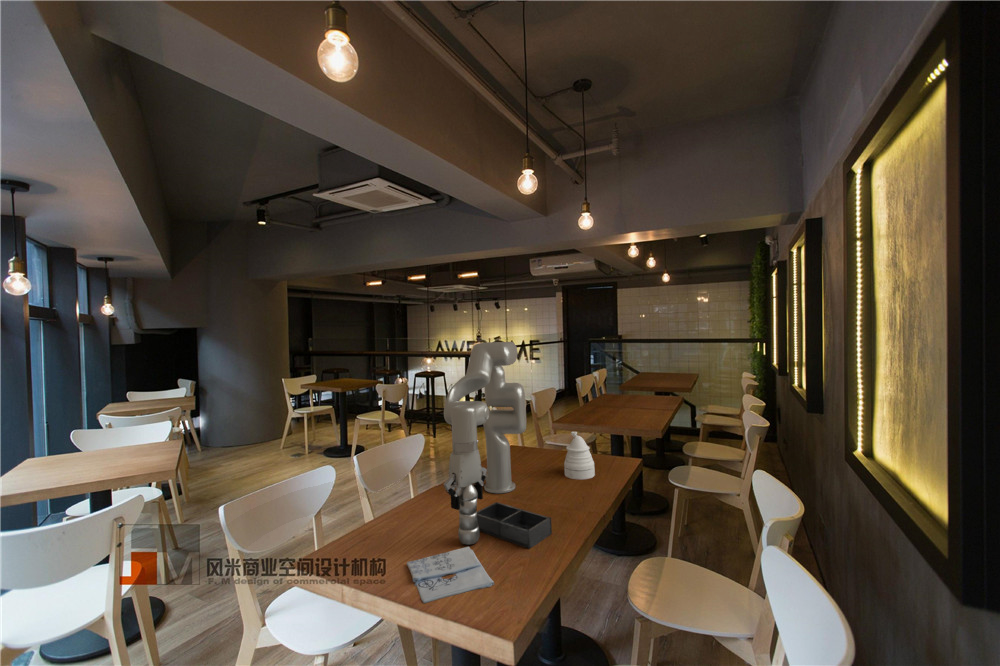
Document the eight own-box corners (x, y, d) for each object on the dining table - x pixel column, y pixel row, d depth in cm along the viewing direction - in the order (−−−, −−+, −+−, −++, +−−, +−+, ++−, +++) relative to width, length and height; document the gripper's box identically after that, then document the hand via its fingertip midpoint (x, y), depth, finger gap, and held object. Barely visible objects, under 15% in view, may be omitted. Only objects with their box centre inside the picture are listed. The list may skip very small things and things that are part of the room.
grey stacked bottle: (483, 538, 135) (480, 473, 135) (474, 549, 129) (471, 480, 129) (464, 536, 137) (461, 472, 137) (454, 546, 131) (451, 479, 131)
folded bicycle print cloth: (472, 551, 128) (471, 544, 128) (495, 588, 109) (495, 580, 109) (406, 566, 122) (405, 559, 122) (418, 608, 103) (418, 599, 103)
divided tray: (473, 529, 142) (472, 513, 142) (497, 516, 151) (496, 501, 151) (529, 549, 127) (528, 531, 127) (551, 533, 136) (551, 517, 136)
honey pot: (558, 475, 190) (556, 434, 190) (575, 467, 199) (573, 428, 199) (584, 481, 181) (582, 437, 181) (600, 473, 191) (598, 431, 191)
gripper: (475, 439, 142) (478, 492, 142) (434, 451, 129) (437, 510, 129) (493, 442, 137) (495, 497, 137) (452, 455, 124) (455, 516, 124)
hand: (467, 503), depth 133 cm, fingers open, 9 cm apart
